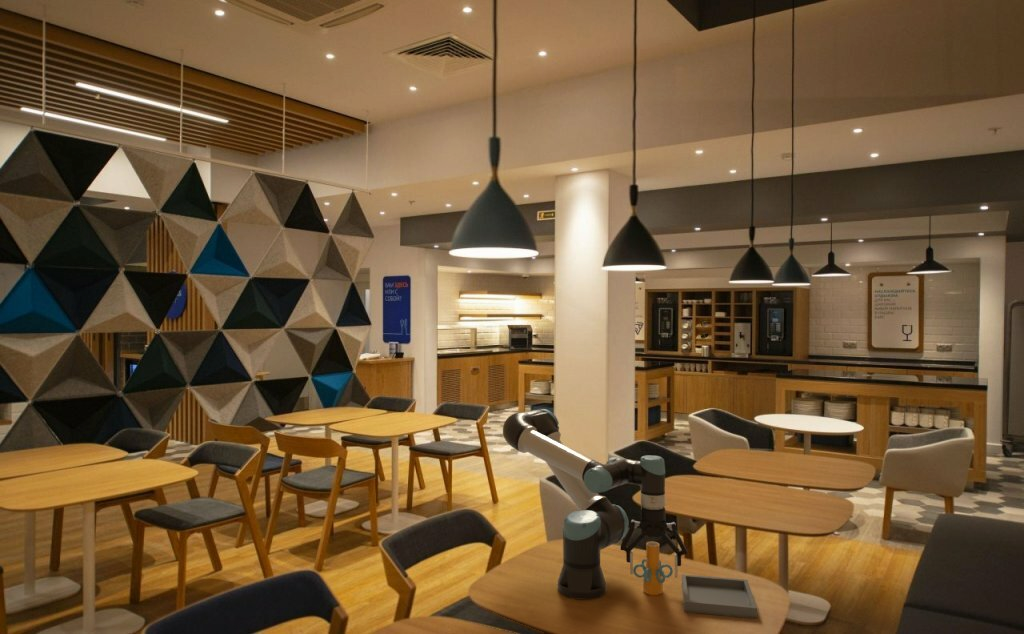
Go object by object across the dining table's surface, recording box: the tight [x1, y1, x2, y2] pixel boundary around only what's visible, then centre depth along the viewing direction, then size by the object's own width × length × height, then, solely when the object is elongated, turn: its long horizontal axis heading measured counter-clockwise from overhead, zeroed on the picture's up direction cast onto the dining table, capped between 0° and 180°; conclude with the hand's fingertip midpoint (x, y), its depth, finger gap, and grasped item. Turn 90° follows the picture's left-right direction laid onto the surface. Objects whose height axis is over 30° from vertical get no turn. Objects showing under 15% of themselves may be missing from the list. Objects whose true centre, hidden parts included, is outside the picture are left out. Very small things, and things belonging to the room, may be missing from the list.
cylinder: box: [633, 541, 674, 596], centre depth 200 cm, size 12×10×15 cm
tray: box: [681, 573, 758, 619], centre depth 194 cm, size 20×20×3 cm
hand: (653, 574), depth 200 cm, fingers open, 13 cm apart
